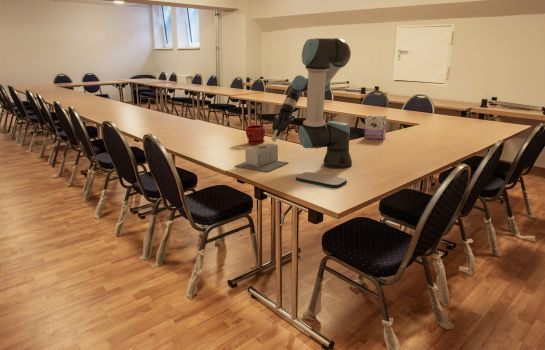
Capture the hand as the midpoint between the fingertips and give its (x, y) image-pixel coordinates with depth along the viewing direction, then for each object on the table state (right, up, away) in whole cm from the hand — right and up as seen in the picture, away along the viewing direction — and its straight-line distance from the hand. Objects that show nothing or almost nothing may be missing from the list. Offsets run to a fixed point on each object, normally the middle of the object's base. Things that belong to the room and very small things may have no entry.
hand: (273, 140), depth 216 cm
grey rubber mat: (-6, -14, -6) cm, 17 cm away
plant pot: (-12, +2, +48) cm, 50 cm away
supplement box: (-1, -6, +2) cm, 6 cm away
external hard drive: (+22, -23, -36) cm, 48 cm away
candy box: (+72, +6, +54) cm, 90 cm away
